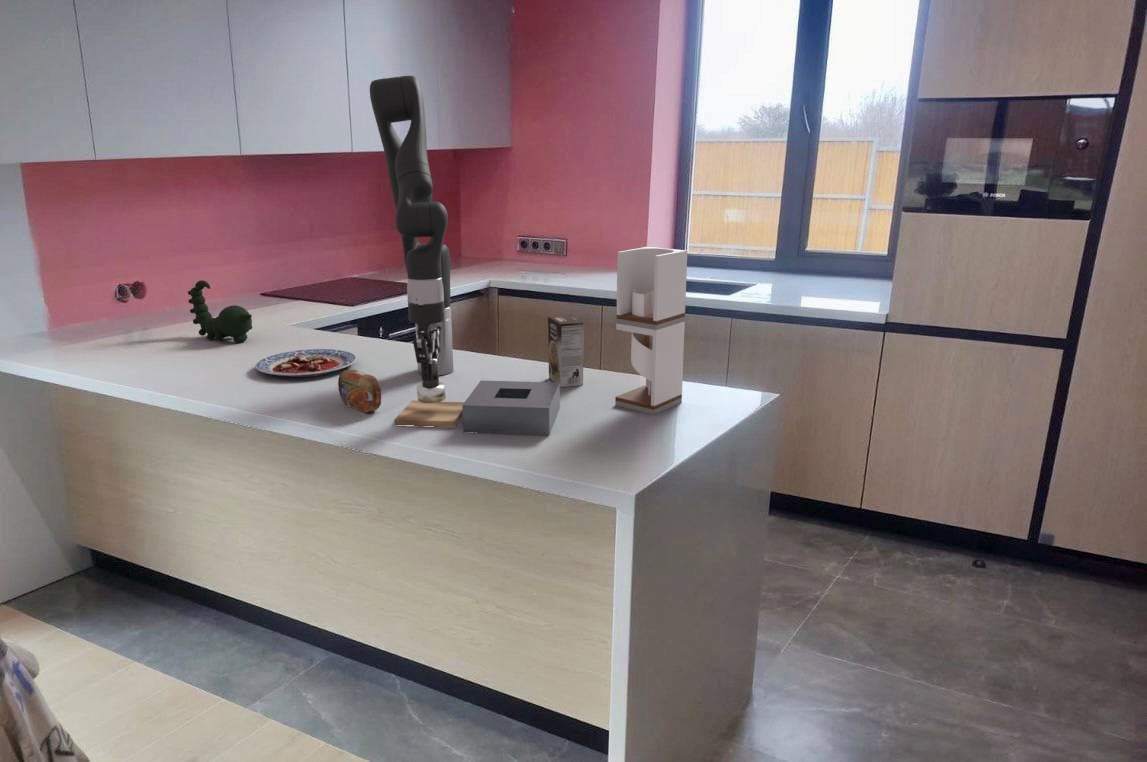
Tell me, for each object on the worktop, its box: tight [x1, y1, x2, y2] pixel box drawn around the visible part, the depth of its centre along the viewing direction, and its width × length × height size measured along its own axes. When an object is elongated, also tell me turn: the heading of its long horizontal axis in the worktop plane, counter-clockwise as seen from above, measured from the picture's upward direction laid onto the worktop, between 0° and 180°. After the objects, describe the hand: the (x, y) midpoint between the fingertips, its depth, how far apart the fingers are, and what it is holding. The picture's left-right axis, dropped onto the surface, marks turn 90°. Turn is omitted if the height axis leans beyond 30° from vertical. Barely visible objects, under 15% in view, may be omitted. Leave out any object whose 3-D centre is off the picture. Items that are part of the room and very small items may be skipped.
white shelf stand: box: [614, 246, 688, 416], centre depth 182 cm, size 11×11×35 cm
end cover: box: [416, 357, 446, 403], centre depth 175 cm, size 6×6×9 cm
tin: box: [337, 369, 382, 414], centre depth 183 cm, size 15×3×8 cm, turn 45°
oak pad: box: [393, 400, 465, 429], centre depth 178 cm, size 13×13×2 cm
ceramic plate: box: [255, 348, 358, 378], centre depth 216 cm, size 26×26×3 cm
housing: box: [462, 379, 561, 436], centre depth 175 cm, size 18×18×6 cm
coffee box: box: [547, 314, 585, 388], centre depth 202 cm, size 9×6×16 cm
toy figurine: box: [187, 279, 253, 344], centre depth 244 cm, size 9×19×25 cm
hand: (429, 377), depth 175 cm, fingers closed on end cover, 3 cm apart
